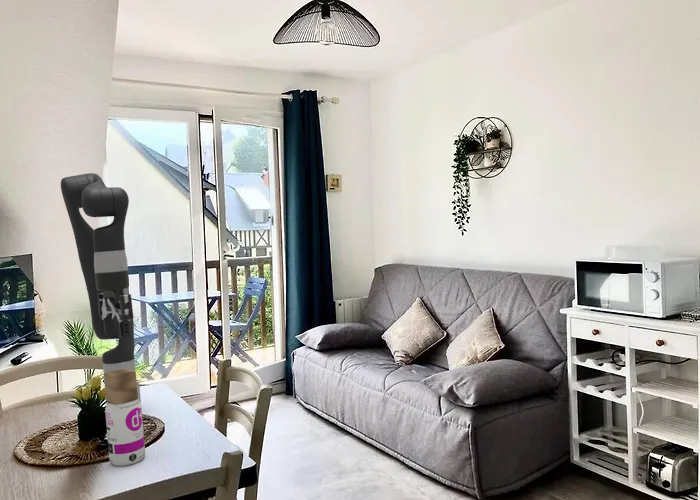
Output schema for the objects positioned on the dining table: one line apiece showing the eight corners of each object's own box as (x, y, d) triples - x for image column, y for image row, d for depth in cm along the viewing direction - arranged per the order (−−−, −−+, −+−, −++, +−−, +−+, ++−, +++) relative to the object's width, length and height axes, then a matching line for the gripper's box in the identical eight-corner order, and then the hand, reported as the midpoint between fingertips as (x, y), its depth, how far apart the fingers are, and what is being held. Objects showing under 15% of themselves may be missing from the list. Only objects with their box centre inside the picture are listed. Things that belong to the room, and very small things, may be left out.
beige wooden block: (128, 395, 150) (125, 368, 150) (137, 399, 146) (135, 370, 146) (106, 401, 147) (103, 373, 146) (115, 405, 143) (113, 376, 142)
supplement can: (152, 455, 149) (147, 396, 149) (127, 468, 142) (122, 406, 141) (128, 452, 153) (123, 394, 152) (102, 465, 145) (97, 404, 145)
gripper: (139, 268, 143) (145, 335, 144) (114, 268, 153) (119, 331, 154) (108, 271, 138) (114, 341, 138) (84, 271, 148) (90, 336, 148)
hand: (117, 336), depth 146 cm, fingers open, 8 cm apart
